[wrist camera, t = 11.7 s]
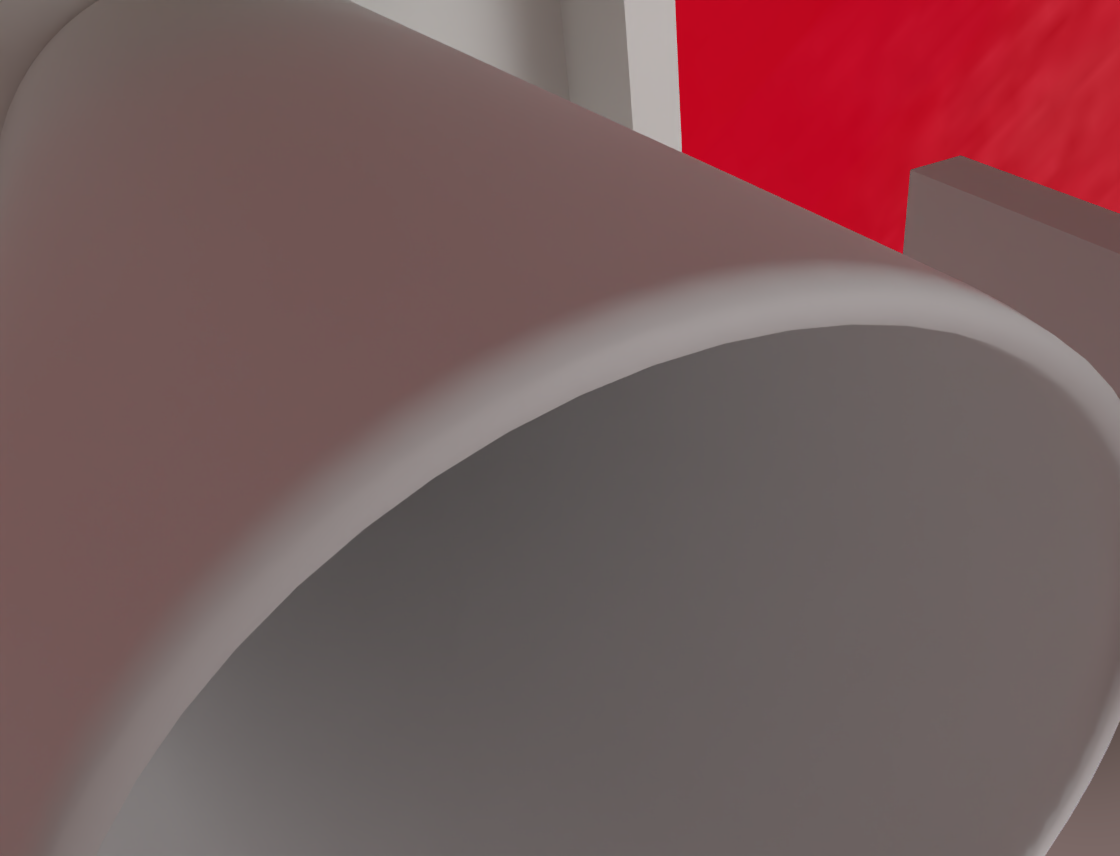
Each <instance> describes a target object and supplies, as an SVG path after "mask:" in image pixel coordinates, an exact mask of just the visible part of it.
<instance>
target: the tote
mask: <svg viewBox="0 0 1120 856" xmlns="http://www.w3.org/2000/svg"><path fill="white" fill-rule="evenodd" d="M97 1H98V0H0V137H1V132H2V128H3V125H4V122H5V119H6V115H7V112H8V109H9V106H10V104H11V102H12V100H13V97H14V95H15V93H16V91H17V88H18V86H19V84H20V83H21V81H22V79H23V78H24V76H25V74H26V72H27V71H28V69H29V67H30V66H31V64H32V63H33V61H34V60H35V59H36V58H37V56H38V55H39V54H40V52H41V51H42V50H43V48H44V47H45V46H46V44H47V43H48V42H49V41H50V40H51V39H52V38H53V37H54V36H55V35H56V34H57V33H58V32H59V31H60V30H61V29H62V28H63V27H64V26H65V25H66V24H67V23H69V22H70V21H71V20H72V19H73V18H75V17H76V16H77V15H78V14H79V13H81V12H82V11H83V10H85V9H86V8H88V7H89V6H91V5H92V4H94V3H95V2H97ZM349 1H351V2H354V3H356V4H358V5H360V6H362V7H365V8H367V9H369V10H371V11H373V12H376V13H378V14H380V15H382V16H384V17H386V18H389V19H391V20H393V21H395V22H397V23H400V24H402V25H404V26H406V27H408V28H411V29H413V30H415V31H417V32H419V33H421V34H424V35H426V36H428V37H430V38H432V39H435V40H437V41H439V42H441V43H443V44H446V45H448V46H450V47H452V48H454V49H456V50H459V51H461V52H463V53H465V54H467V55H470V56H472V57H474V58H476V59H478V60H481V61H483V62H485V63H487V64H489V65H492V66H494V67H496V68H498V69H500V70H502V71H505V72H507V73H509V74H511V75H513V76H516V77H518V78H520V79H522V80H524V81H527V82H529V83H531V84H533V85H535V86H537V87H540V88H542V89H544V90H546V91H548V92H551V93H553V94H555V95H557V96H559V97H562V98H564V99H566V100H568V101H570V102H572V103H575V104H577V105H579V106H581V107H583V108H586V109H588V110H590V111H592V112H594V113H597V114H599V115H601V116H603V117H605V118H608V119H610V120H612V121H614V122H616V123H618V124H621V125H623V126H625V127H627V128H629V129H632V130H634V131H636V132H638V133H640V134H643V135H645V136H647V137H649V138H651V139H653V140H656V141H658V142H660V143H662V144H664V145H667V146H669V147H671V148H673V149H675V150H678V151H680V152H682V145H681V123H680V102H679V80H678V58H677V36H676V14H675V0H349Z"/></svg>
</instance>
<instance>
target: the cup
mask: <svg viewBox="0 0 1120 856" xmlns="http://www.w3.org/2000/svg"><path fill="white" fill-rule="evenodd" d="M1119 721H1120V399H1119V398H1118V396H1117V395H1116V393H1115V392H1114V390H1113V388H1112V387H1111V386H1110V385H1109V384H1108V383H1107V382H1106V381H1105V380H1104V379H1103V377H1102V376H1101V375H1100V374H1099V373H1098V372H1097V371H1096V370H1095V369H1094V368H1093V366H1092V365H1091V364H1090V363H1089V362H1088V361H1087V360H1086V359H1085V358H1083V357H1082V356H1081V355H1079V354H1078V353H1077V352H1076V351H1074V350H1073V349H1072V348H1070V347H1069V346H1068V345H1066V344H1065V343H1064V342H1063V341H1061V340H1060V339H1059V338H1057V337H1056V336H1055V335H1053V334H1052V333H1050V332H1049V331H1047V330H1045V329H1044V328H1042V327H1041V326H1039V325H1038V324H1036V323H1034V322H1033V321H1031V320H1030V319H1028V318H1027V317H1025V316H1024V315H1022V314H1020V313H1019V312H1017V311H1016V310H1014V309H1013V308H1011V307H1010V306H1008V305H1006V304H1004V303H1002V302H1000V301H998V300H997V299H995V298H993V297H991V296H989V295H987V294H985V293H983V292H982V291H980V290H978V289H976V288H974V287H972V286H970V285H968V284H966V283H964V282H962V281H960V280H957V279H955V278H953V277H951V276H949V275H947V274H944V273H942V272H940V271H938V270H936V269H934V268H931V267H929V266H927V265H925V264H923V263H921V262H918V261H916V260H914V259H912V258H910V257H908V256H906V255H903V254H901V253H899V252H897V251H895V250H893V249H890V248H888V247H886V246H884V245H882V244H880V243H877V242H875V241H873V240H871V239H869V238H867V237H864V236H862V235H860V234H858V233H856V232H854V231H851V230H849V229H847V228H845V227H843V226H841V225H838V224H836V223H834V222H832V221H830V220H828V219H825V218H823V217H821V216H819V215H817V214H815V213H812V212H810V211H808V210H806V209H804V208H802V207H799V206H797V205H795V204H793V203H791V202H789V201H786V200H784V199H782V198H780V197H778V196H776V195H774V194H771V193H769V192H767V191H765V190H763V189H761V188H758V187H756V186H754V185H752V184H750V183H748V182H745V181H743V180H741V179H739V178H737V177H734V176H732V175H730V174H728V173H726V172H724V171H721V170H719V169H717V168H715V167H713V166H710V165H708V164H706V163H704V162H702V161H699V160H697V159H695V158H693V157H691V156H688V155H686V154H684V153H682V152H680V151H678V150H675V149H673V148H671V147H669V146H667V145H664V144H662V143H660V142H658V141H656V140H653V139H651V138H649V137H647V136H645V135H643V134H640V133H638V132H636V131H634V130H632V129H629V128H627V127H625V126H623V125H621V124H618V123H616V122H614V121H612V120H610V119H608V118H605V117H603V116H601V115H599V114H597V113H594V112H592V111H590V110H588V109H586V108H583V107H581V106H579V105H577V104H575V103H572V102H570V101H568V100H566V99H564V98H562V97H559V96H557V95H555V94H553V93H551V92H548V91H546V90H544V89H542V88H540V87H537V86H535V85H533V84H531V83H529V82H527V81H524V80H522V79H520V78H518V77H516V76H513V75H511V74H509V73H507V72H505V71H502V70H500V69H498V68H496V67H494V66H492V65H489V64H487V63H485V62H483V61H481V60H478V59H476V58H474V57H472V56H470V55H467V54H465V53H463V52H461V51H459V50H456V49H454V48H452V47H450V46H448V45H446V44H443V43H441V42H439V41H437V40H435V39H432V38H430V37H428V36H426V35H424V34H421V33H419V32H417V31H415V30H413V29H411V28H408V27H406V26H404V25H402V24H400V23H397V22H395V21H393V20H391V19H389V18H386V17H384V16H382V15H380V14H378V13H376V12H373V11H371V10H369V9H367V8H365V7H362V6H360V5H358V4H356V3H354V2H351V1H349V0H98V1H97V2H95V3H94V4H92V5H91V6H89V7H88V8H86V9H85V10H83V11H82V12H81V13H79V14H78V15H77V16H76V17H75V18H73V19H72V20H71V21H70V22H69V23H67V24H66V25H65V26H64V27H63V28H62V29H61V30H60V31H59V32H58V33H57V34H56V35H55V36H54V37H53V38H52V39H51V40H50V41H49V42H48V43H47V44H46V46H45V47H44V48H43V50H42V51H41V52H40V54H39V55H38V56H37V58H36V59H35V60H34V61H33V63H32V64H31V66H30V67H29V69H28V71H27V72H26V74H25V76H24V78H23V79H22V81H21V83H20V84H19V86H18V88H17V91H16V93H15V95H14V97H13V100H12V102H11V104H10V106H9V109H8V112H7V115H6V119H5V122H4V125H3V128H2V132H1V137H0V856H1045V855H1046V853H1047V852H1048V850H1049V849H1050V847H1051V846H1052V844H1053V842H1054V841H1055V839H1056V838H1057V836H1058V835H1059V833H1060V832H1061V830H1062V829H1063V827H1064V826H1065V824H1066V822H1067V821H1068V819H1069V818H1070V816H1071V814H1072V812H1073V811H1074V809H1075V808H1076V806H1077V804H1078V802H1079V801H1080V799H1081V797H1082V795H1083V794H1084V792H1085V790H1086V789H1087V787H1088V785H1089V783H1090V782H1091V780H1092V778H1093V776H1094V774H1095V772H1096V770H1097V768H1098V766H1099V764H1100V762H1101V760H1102V758H1103V756H1104V754H1105V752H1106V750H1107V748H1108V746H1109V744H1110V742H1111V739H1112V737H1113V735H1114V733H1115V730H1116V728H1117V726H1118V724H1119Z"/></svg>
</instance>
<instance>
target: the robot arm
mask: <svg viewBox="0 0 1120 856" xmlns="http://www.w3.org/2000/svg"><path fill="white" fill-rule="evenodd" d="M903 255H906V256H908V257H910V258H912V259H914V260H916V261H918V262H921V263H923V264H925V265H927V266H929V267H931V268H934V269H936V270H938V271H940V272H942V273H944V274H947V275H949V276H951V277H953V278H955V279H957V280H960V281H962V282H964V283H966V284H968V285H970V286H972V287H974V288H976V289H978V290H980V291H982V292H983V293H985V294H987V295H989V296H991V297H993V298H995V299H997V300H998V301H1000V302H1002V303H1004V304H1006V305H1008V306H1010V307H1011V308H1013V309H1014V310H1016V311H1017V312H1019V313H1020V314H1022V315H1024V316H1025V317H1027V318H1028V319H1030V320H1031V321H1033V322H1034V323H1036V324H1038V325H1039V326H1041V327H1042V328H1044V329H1045V330H1047V331H1049V332H1050V333H1052V334H1053V335H1055V336H1056V337H1057V338H1059V339H1060V340H1061V341H1063V342H1064V343H1065V344H1066V345H1068V346H1069V347H1070V348H1072V349H1073V350H1074V351H1076V352H1077V353H1078V354H1079V355H1081V356H1082V357H1083V358H1085V359H1086V360H1087V361H1088V362H1089V363H1090V364H1091V365H1092V366H1093V368H1094V369H1095V370H1096V371H1097V372H1098V373H1099V374H1100V375H1101V376H1102V377H1103V379H1104V380H1105V381H1106V382H1107V383H1108V384H1109V385H1110V386H1111V387H1112V388H1113V390H1114V392H1115V393H1116V395H1117V396H1118V398H1119V399H1120V214H1119V213H1116V212H1113V211H1111V210H1108V209H1105V208H1102V207H1100V206H1097V205H1094V204H1092V203H1089V202H1086V201H1083V200H1081V199H1078V198H1075V197H1072V196H1070V195H1067V194H1064V193H1062V192H1059V191H1056V190H1053V189H1051V188H1048V187H1045V186H1042V185H1040V184H1037V183H1034V182H1032V181H1029V180H1026V179H1023V178H1021V177H1018V176H1015V175H1012V174H1010V173H1007V172H1004V171H1001V170H999V169H996V168H993V167H991V166H988V165H985V164H982V163H980V162H977V161H974V160H971V159H969V158H966V157H963V156H957V157H954V158H950V159H947V160H943V161H940V162H936V163H933V164H929V165H926V166H922V167H919V168H915V169H912V170H910V181H909V192H908V203H907V215H906V226H905V237H904V249H903Z"/></svg>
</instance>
